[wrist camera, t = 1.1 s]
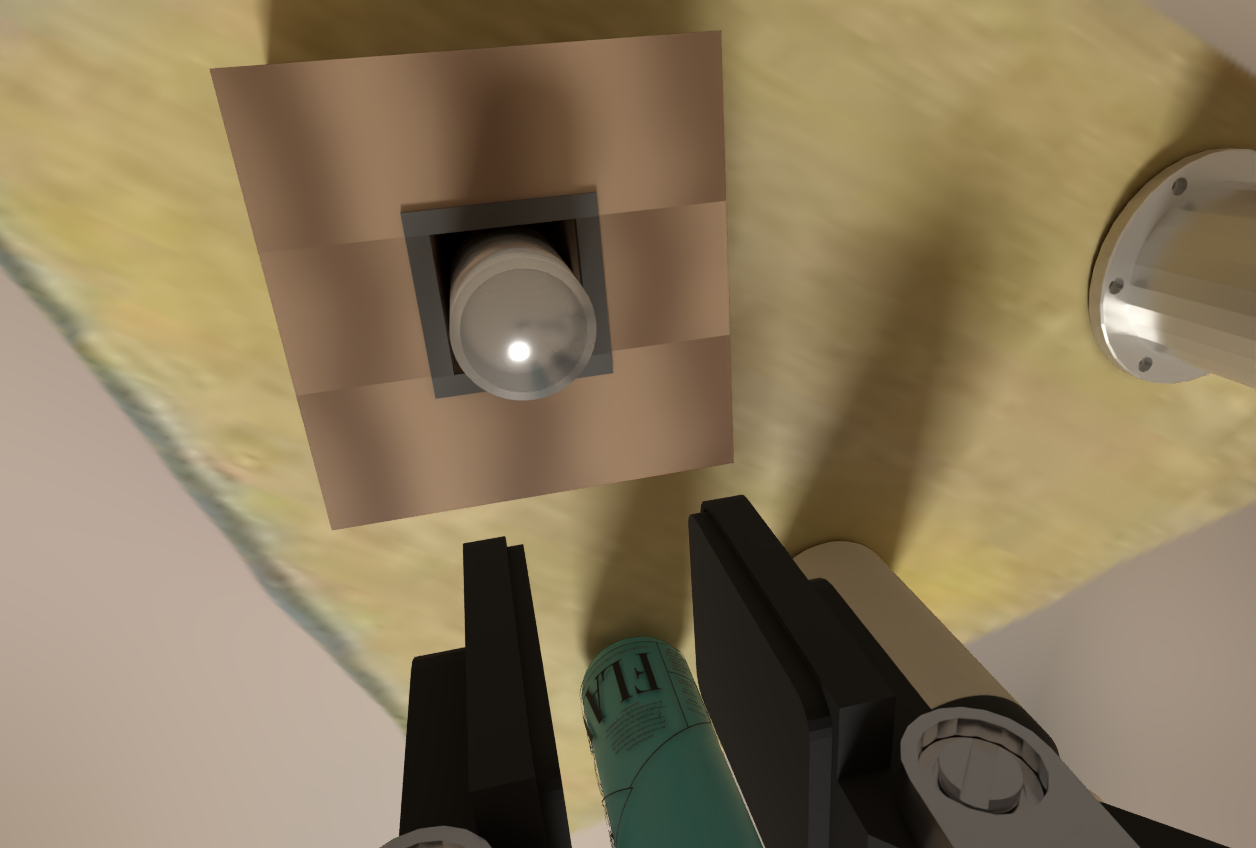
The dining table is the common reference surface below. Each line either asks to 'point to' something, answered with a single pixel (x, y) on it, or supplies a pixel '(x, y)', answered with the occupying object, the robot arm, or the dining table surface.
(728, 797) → the beverage bottle
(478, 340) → the steel dowel
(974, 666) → the travel mug
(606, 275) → the block
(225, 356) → the dining table surface
